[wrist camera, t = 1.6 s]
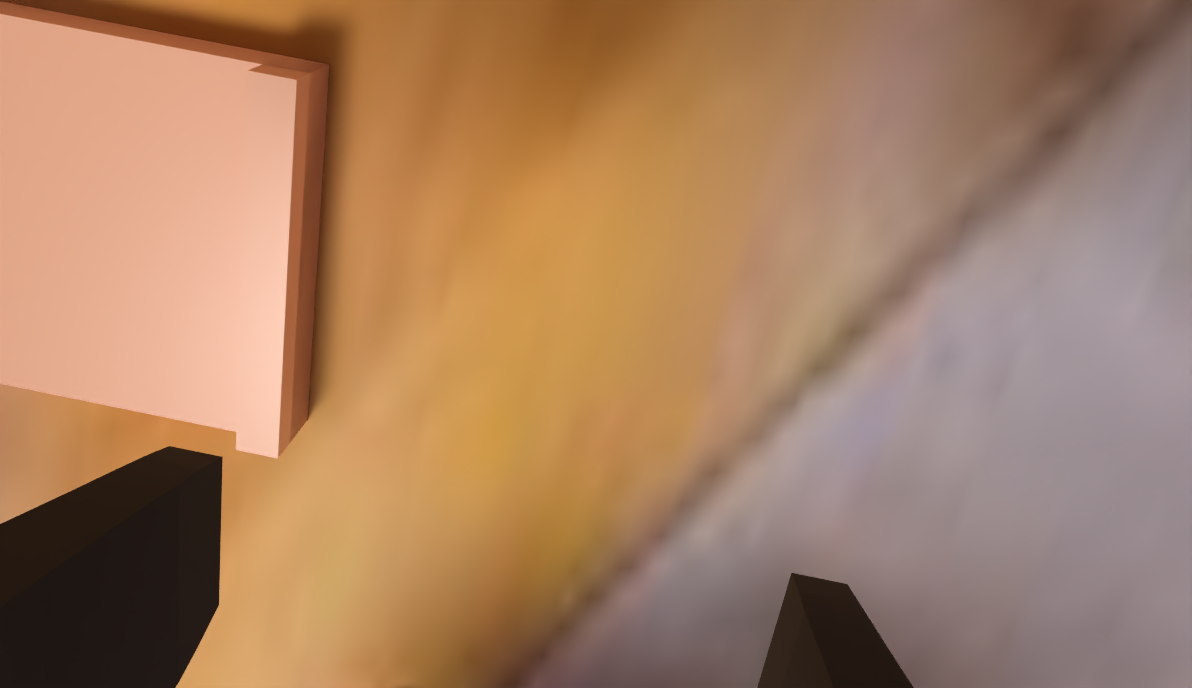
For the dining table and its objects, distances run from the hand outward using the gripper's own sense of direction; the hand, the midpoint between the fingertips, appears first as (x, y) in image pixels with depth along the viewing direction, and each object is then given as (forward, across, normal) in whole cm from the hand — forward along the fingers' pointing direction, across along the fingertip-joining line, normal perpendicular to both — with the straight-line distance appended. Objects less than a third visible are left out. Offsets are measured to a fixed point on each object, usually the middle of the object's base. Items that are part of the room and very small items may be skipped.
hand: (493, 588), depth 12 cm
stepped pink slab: (+9, +10, 0) cm, 13 cm away
